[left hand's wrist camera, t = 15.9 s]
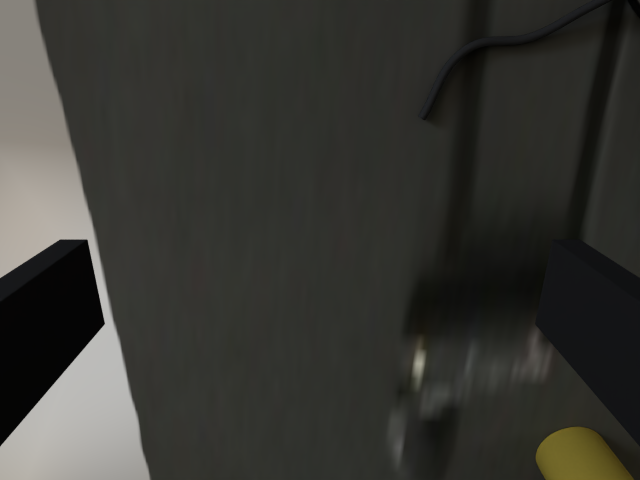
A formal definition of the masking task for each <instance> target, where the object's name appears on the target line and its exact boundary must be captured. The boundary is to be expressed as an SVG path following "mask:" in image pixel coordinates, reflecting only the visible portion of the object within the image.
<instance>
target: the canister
mask: <svg viewBox="0 0 640 480" xmlns="http://www.w3.org/2000/svg"><path fill="white" fill-rule="evenodd" d="M536 462H537V465H538V467H539V469H540V470H541V472H542V474H543V476H544V478H545V479H546V480H634V479H633V477H632V476H631V475H630V474H629V472H628V471H627V470H626V468H625V467H624V466H623V465H622V463H621V462H620V461H619V459H618V458H617V457H616V455H615V454H614V453H613V452H612V450H611V449H610V448H609V446H608V445H607V444H606V442H605V441H604V440H603V439H602V437H601V436H600V435H599V434H598V433H597V432H595V431H593V430H591V429H588V428H584V427H569V428H565V429H561V430H559V431H556V432H554V433H553V434H551V435H549V436H548V437H547V438H546V439H545V440H543V442H542V443H541V444H540V446H539V447H538V449H537V453H536Z"/></svg>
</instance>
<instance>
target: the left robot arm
mask: <svg viewBox="0 0 640 480" xmlns="http://www.w3.org/2000/svg"><path fill="white" fill-rule="evenodd" d="M609 1H611V0H593V1H591V2H589V3H587V4H585V5H583V6H581V7H580V8H578V9H576V10H574V11H572V12H571V13H569V14H567V15H566V16H564V17H562V18H561V19H559V20H557V21H555V22H554V23H552V24H550V25H548V26H546V27H544V28H542V29H540V30H537V31H535V32H532V33H529V34H526V35H521V36H509V37H487V38H482V39H478V40H475V41H473V42H471V43H468V44H467V45H465V46H464V47H462V48H461V49H460V50H458V51H457V52H456V53H455V54H454V55H453V56H452V57H451V58H450V59H449V60H448V61H447V63H446V64H445V65H444V67H443V68H442V70H441V72H440V73H439V75H438V77H437V79H436V81H435V83H434V85H433V88H432V90H431V92H430V94H429V97H428V99H427V101H426V103H425V105H424V107H423V109H422V111H421V112H420V114H419V117H420V118H422V119H423V120H425V119H426V118H427V116H428V114H429V113H430V111H431V109H432V107H433V105H434V103H435V101H436V98H437V96H438V94H439V92H440V90H441V87H442V85H443V83H444V81H445V79H446V78H447V76H448V74H449V73H450V71H451V70H452V68H453V67H454V66H455V65H456V63H457V62H458V61H460V60H461V59H462V58H463V57H464V56H465V55H467V54H468V53H470V52H471V51H473V50H475V49H478V48H481V47H485V46H500V45H518V44H524V43H528V42H532V41H535V40H537V39H540V38H542V37H545V36H547V35H549V34H551V33H553V32H555V31H557V30H558V29H560V28H562V27H564V26H565V25H567V24H569V23H571V22H572V21H574V20H576V19H577V18H579V17H581V16H583V15H585V14H587V13H589V12H590V11H592V10H594V9H596V8H598V7H600V6H602V5H604V4H606V3H608V2H609ZM628 2H629V4H630V6H631V7H632V9H633V10H634V12H635V13H636V14H637V15H638V16H639V17H640V0H628ZM104 324H105V322H104V318H103V313H102V308H101V303H100V298H99V294H98V289H97V284H96V279H95V274H94V269H93V265H92V260H91V255H90V250H89V245H88V240H59V241H57V242H56V243H54V244H53V245H51V246H50V247H48V248H46V249H45V250H43V251H42V252H40V253H39V254H37V255H36V256H34V257H32V258H31V259H29V260H28V261H26V262H25V263H23V264H22V265H20V266H18V267H17V268H15V269H14V270H12V271H11V272H9V273H8V274H6V275H4V276H3V277H1V278H0V446H1V445H2V444H3V442H4V441H5V440H6V439H7V438H8V437H9V435H10V434H11V433H12V432H13V431H14V430H15V428H16V427H17V426H18V425H19V424H20V423H21V421H22V420H23V419H24V418H25V417H26V416H27V414H28V413H29V412H30V411H31V410H32V409H33V407H34V406H35V405H36V404H37V403H38V401H39V400H40V399H41V398H42V397H43V396H44V395H45V393H46V392H47V391H48V390H49V389H50V387H51V386H52V385H53V384H54V383H55V382H56V380H57V379H58V378H59V377H60V376H61V375H62V373H63V372H64V371H65V370H66V369H67V368H68V366H69V365H70V364H71V363H72V362H73V361H74V359H75V358H76V357H77V356H78V355H79V354H80V352H81V351H82V350H83V349H84V348H85V347H86V345H87V344H88V343H89V342H90V341H91V340H92V338H93V337H94V336H95V335H96V334H97V333H98V331H99V330H100V329H101V328H102V327H103V326H104ZM535 324H536V326H537V327H538V328H539V329H540V330H541V331H542V333H543V334H544V335H545V336H546V337H547V338H548V340H549V341H550V342H551V343H552V344H553V345H554V347H555V348H556V349H557V350H558V351H559V352H560V354H561V355H562V356H563V357H564V358H565V359H566V361H567V362H568V363H569V364H570V365H571V366H572V368H573V369H574V370H575V371H576V372H577V373H578V375H579V376H580V377H581V378H582V379H583V380H584V382H585V383H586V384H587V385H588V386H589V388H590V389H591V390H592V391H593V392H594V393H595V395H596V396H597V397H598V398H599V399H600V400H601V402H602V403H603V404H604V405H605V406H606V407H607V409H608V410H609V411H610V412H611V413H612V414H613V416H614V417H615V418H616V419H617V420H618V421H619V423H620V424H621V425H622V426H623V427H624V428H625V430H626V431H627V432H628V433H629V434H630V435H631V437H632V438H633V439H634V440H635V441H636V442H637V444H638V445H639V446H640V278H639V277H637V276H636V275H634V274H632V273H631V272H629V271H628V270H626V269H625V268H623V267H622V266H620V265H618V264H617V263H615V262H614V261H612V260H611V259H609V258H608V257H606V256H604V255H603V254H601V253H600V252H598V251H597V250H595V249H594V248H592V247H590V246H589V245H587V244H586V243H584V242H583V241H581V240H552V245H551V250H550V255H549V260H548V265H547V269H546V274H545V279H544V284H543V289H542V293H541V298H540V303H539V308H538V313H537V318H536V322H535Z"/></svg>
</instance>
